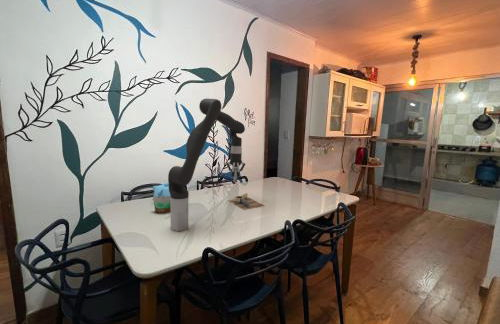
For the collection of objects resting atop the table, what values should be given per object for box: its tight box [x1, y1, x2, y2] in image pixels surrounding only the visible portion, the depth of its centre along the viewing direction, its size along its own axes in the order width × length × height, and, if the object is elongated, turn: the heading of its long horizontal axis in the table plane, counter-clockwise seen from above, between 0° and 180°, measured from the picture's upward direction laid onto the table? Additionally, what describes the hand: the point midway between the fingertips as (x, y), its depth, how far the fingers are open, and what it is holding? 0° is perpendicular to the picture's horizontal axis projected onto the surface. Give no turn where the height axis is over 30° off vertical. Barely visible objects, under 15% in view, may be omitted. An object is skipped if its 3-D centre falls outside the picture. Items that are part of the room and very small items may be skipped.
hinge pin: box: [233, 167, 238, 183], centre depth 171 cm, size 4×4×11 cm
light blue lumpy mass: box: [152, 182, 170, 197], centre depth 171 cm, size 18×16×14 cm
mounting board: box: [227, 196, 266, 211], centre depth 173 cm, size 22×18×1 cm
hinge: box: [234, 192, 250, 208], centre depth 173 cm, size 18×14×4 cm
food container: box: [152, 195, 170, 215], centre depth 151 cm, size 12×6×10 cm, turn 105°
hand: (235, 176), depth 171 cm, fingers closed on hinge pin, 2 cm apart
